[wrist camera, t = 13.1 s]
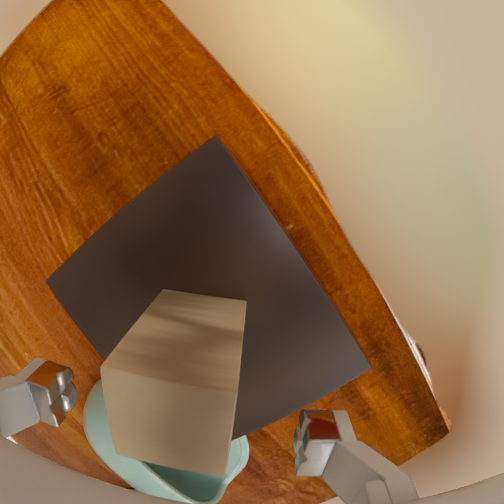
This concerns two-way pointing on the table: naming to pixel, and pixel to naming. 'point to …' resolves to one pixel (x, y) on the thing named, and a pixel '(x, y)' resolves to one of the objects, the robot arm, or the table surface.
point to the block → (177, 382)
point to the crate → (216, 282)
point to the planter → (152, 475)
